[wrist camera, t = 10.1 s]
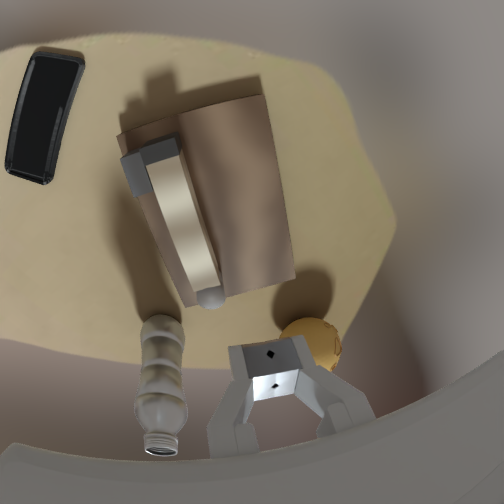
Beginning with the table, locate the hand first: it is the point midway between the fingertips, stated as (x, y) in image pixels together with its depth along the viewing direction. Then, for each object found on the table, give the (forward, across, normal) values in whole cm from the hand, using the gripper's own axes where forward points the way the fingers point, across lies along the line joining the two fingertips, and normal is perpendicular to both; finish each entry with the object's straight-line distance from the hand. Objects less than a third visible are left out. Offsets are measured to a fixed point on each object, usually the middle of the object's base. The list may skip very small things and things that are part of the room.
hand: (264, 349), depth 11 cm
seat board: (+23, 0, -4) cm, 24 cm away
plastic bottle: (+24, -10, -22) cm, 33 cm away
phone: (+24, -20, +10) cm, 33 cm away
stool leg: (+21, -3, -4) cm, 22 cm away
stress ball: (+23, +12, -26) cm, 36 cm away
